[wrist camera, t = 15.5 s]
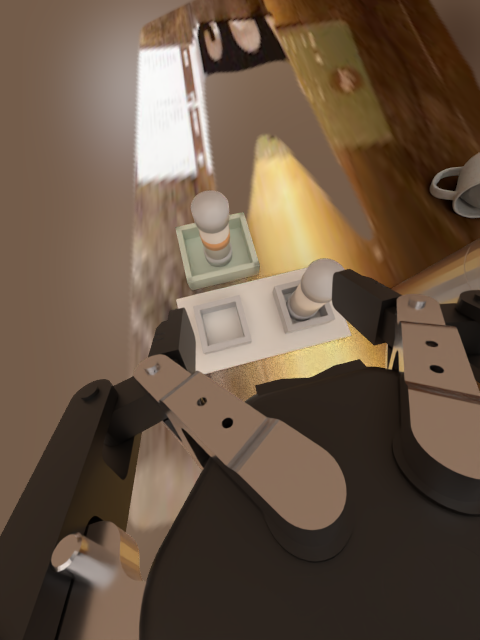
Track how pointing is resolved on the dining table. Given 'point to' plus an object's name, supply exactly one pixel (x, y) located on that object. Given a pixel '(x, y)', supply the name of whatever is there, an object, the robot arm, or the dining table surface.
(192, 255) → the parts tray
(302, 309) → the fuse
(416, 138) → the dining table surface
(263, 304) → the fuse board
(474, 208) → the ceramic mug
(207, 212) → the ball
